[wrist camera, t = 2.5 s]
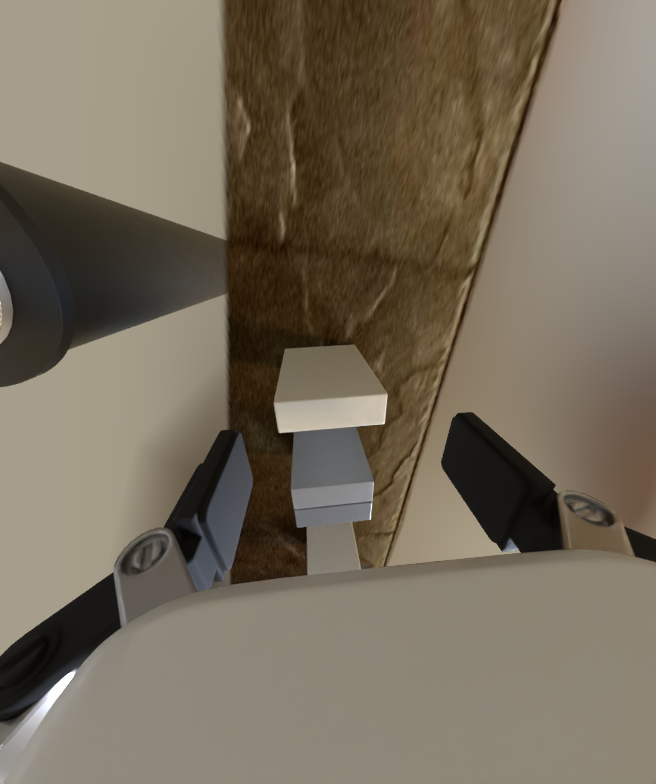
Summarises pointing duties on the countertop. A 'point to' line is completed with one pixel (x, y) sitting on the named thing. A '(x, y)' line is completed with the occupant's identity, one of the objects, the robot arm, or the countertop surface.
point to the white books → (331, 549)
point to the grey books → (330, 477)
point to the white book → (327, 390)
